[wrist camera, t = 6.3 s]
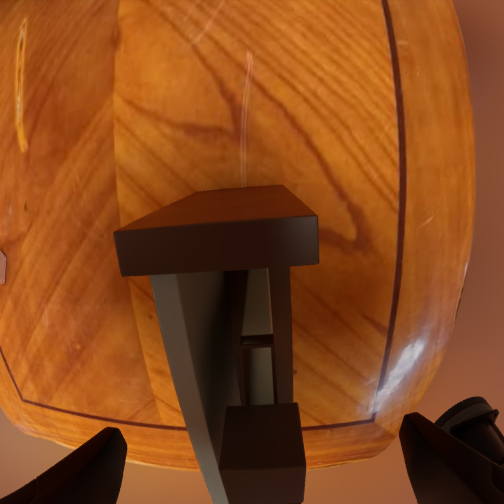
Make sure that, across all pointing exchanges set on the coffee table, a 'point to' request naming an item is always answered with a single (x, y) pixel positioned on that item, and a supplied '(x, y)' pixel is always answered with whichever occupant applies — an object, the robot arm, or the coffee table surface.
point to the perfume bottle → (2, 268)
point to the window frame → (218, 295)
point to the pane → (261, 416)
